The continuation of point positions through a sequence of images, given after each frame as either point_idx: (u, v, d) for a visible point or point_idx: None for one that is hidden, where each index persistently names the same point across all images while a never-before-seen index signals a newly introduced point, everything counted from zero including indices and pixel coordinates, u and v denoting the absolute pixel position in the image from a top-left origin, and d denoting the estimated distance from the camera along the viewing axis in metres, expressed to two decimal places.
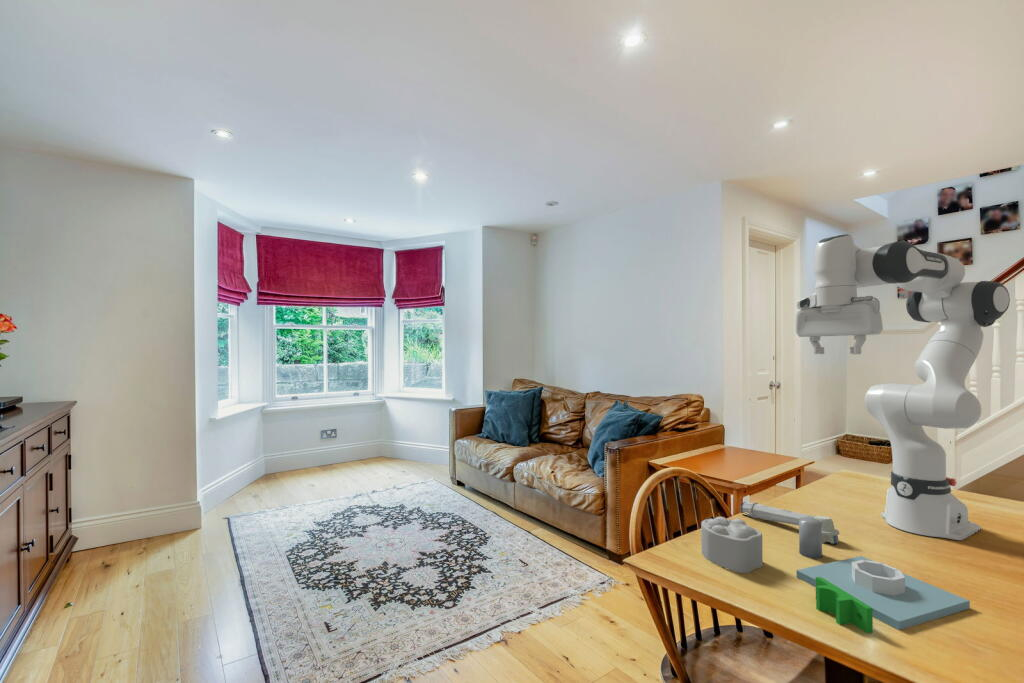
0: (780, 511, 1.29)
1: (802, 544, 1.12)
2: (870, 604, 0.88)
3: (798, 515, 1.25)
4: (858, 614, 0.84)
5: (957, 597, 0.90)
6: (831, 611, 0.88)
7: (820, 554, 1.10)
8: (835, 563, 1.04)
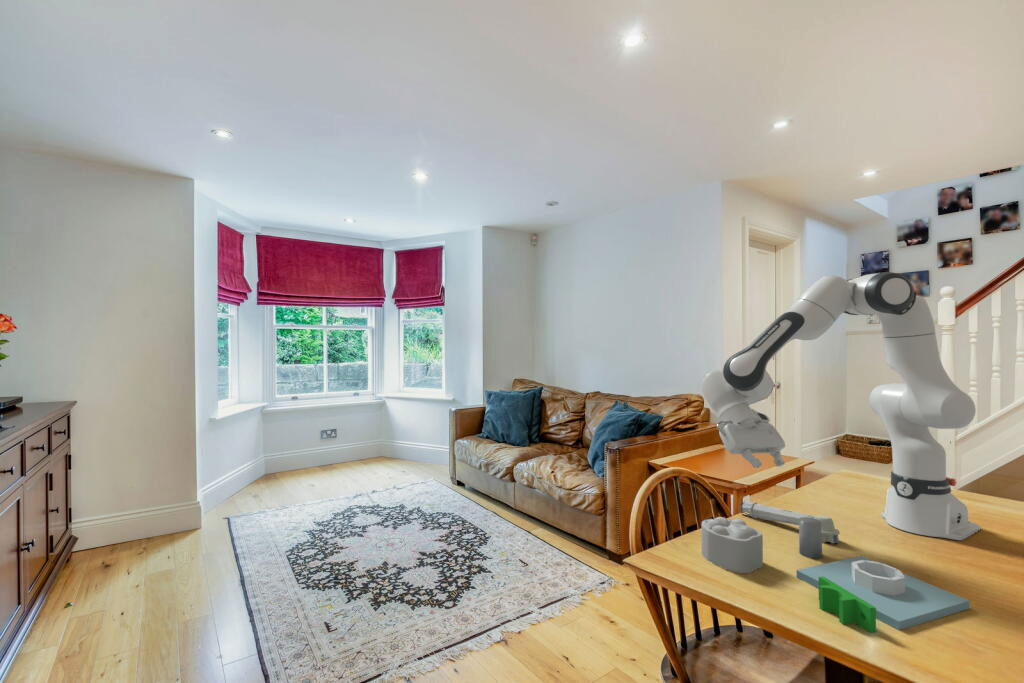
0: (780, 511, 1.29)
1: (802, 544, 1.12)
2: None
3: (798, 515, 1.25)
4: (861, 614, 0.84)
5: (957, 597, 0.90)
6: (834, 611, 0.88)
7: (820, 554, 1.10)
8: (835, 563, 1.04)
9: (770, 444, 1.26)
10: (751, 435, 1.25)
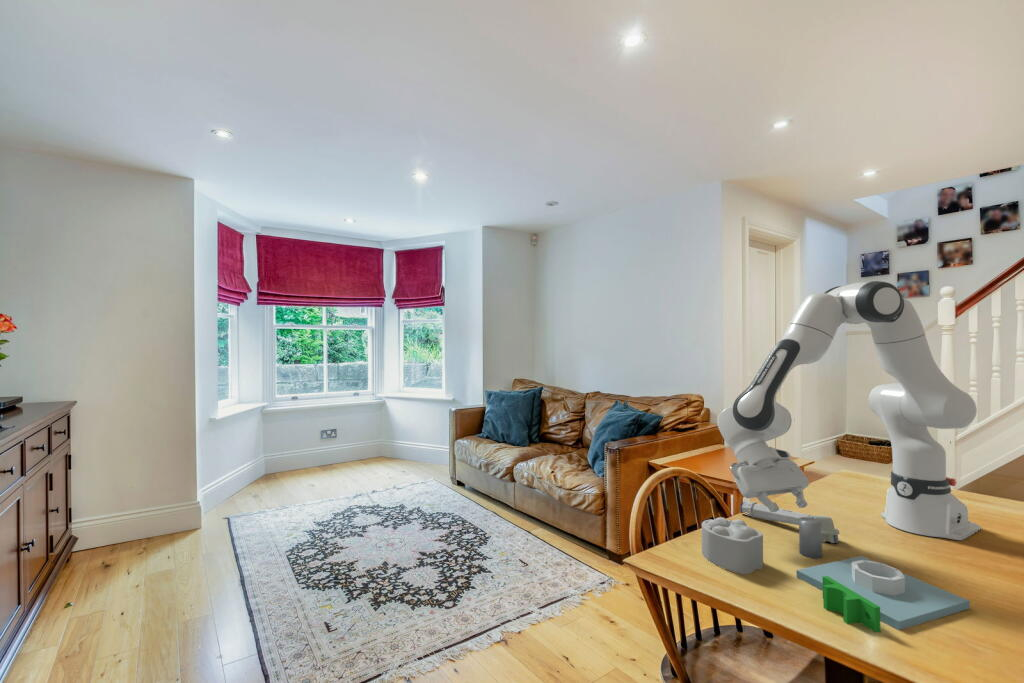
0: (780, 511, 1.29)
1: (802, 544, 1.12)
2: None
3: (798, 515, 1.25)
4: (866, 613, 0.84)
5: (957, 597, 0.90)
6: (838, 610, 0.88)
7: (820, 554, 1.10)
8: (835, 563, 1.04)
9: (790, 484, 1.21)
10: (768, 476, 1.21)
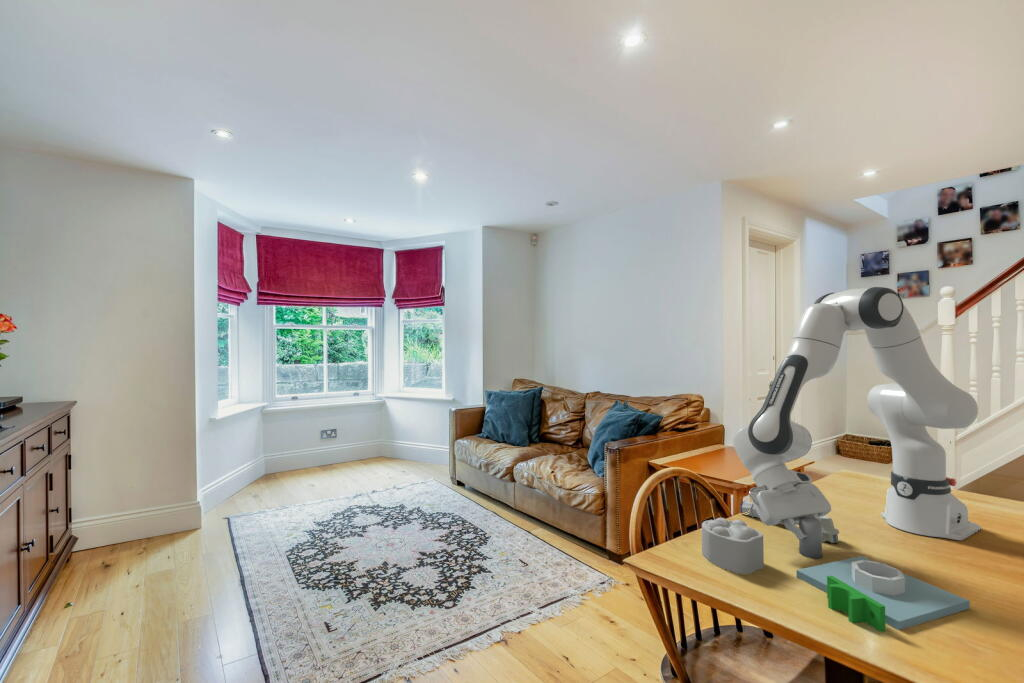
0: None
1: (802, 544, 1.12)
2: None
3: None
4: (871, 612, 0.84)
5: (957, 597, 0.90)
6: (843, 610, 0.88)
7: (820, 554, 1.10)
8: (835, 563, 1.04)
9: (813, 510, 1.15)
10: (789, 502, 1.15)
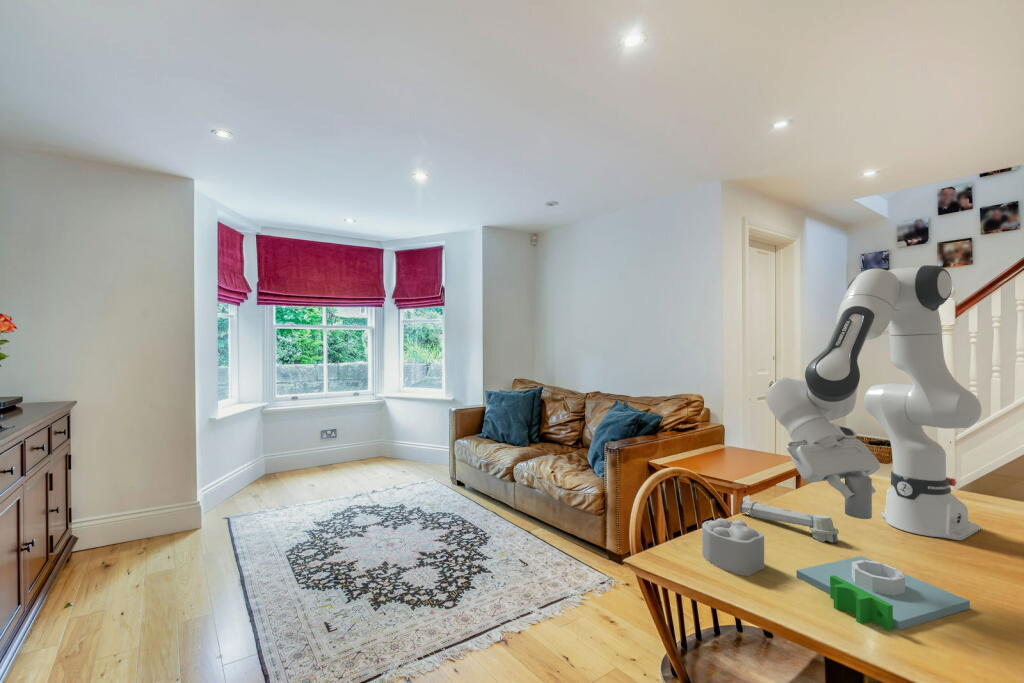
0: (779, 510, 1.30)
1: (848, 503, 0.99)
2: None
3: (797, 514, 1.26)
4: (877, 612, 0.84)
5: (957, 597, 0.90)
6: (849, 610, 0.88)
7: (870, 514, 0.97)
8: (835, 563, 1.04)
9: (860, 466, 1.02)
10: (833, 457, 1.02)
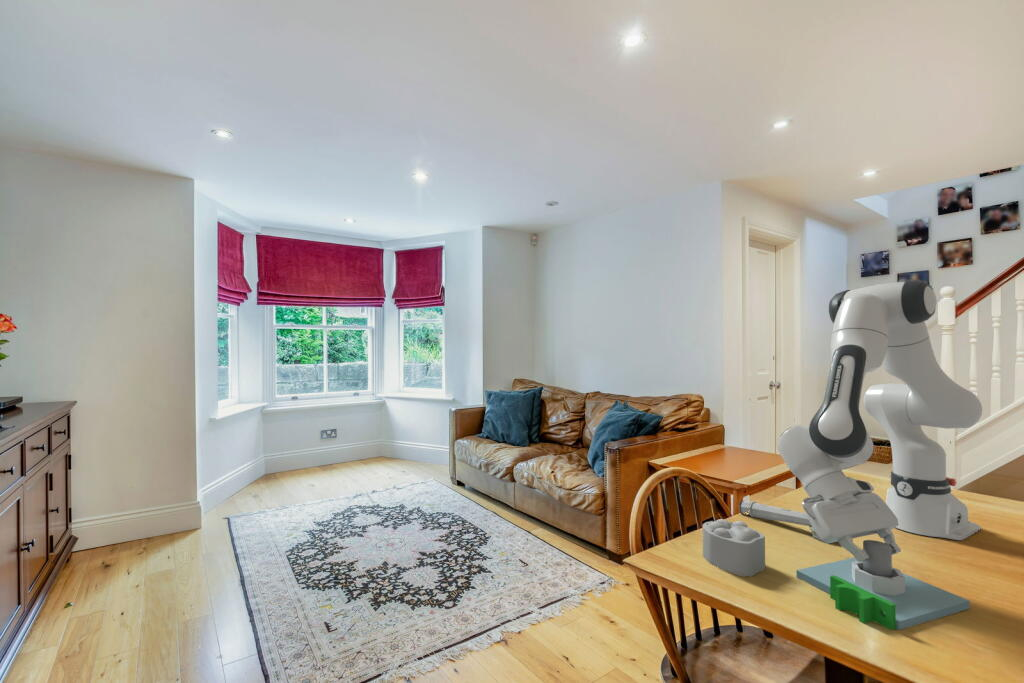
0: (779, 510, 1.30)
1: (867, 572, 0.95)
2: None
3: (797, 514, 1.26)
4: (880, 611, 0.85)
5: (957, 597, 0.90)
6: (850, 609, 0.88)
7: None
8: (835, 563, 1.04)
9: (878, 524, 0.98)
10: (850, 515, 0.98)
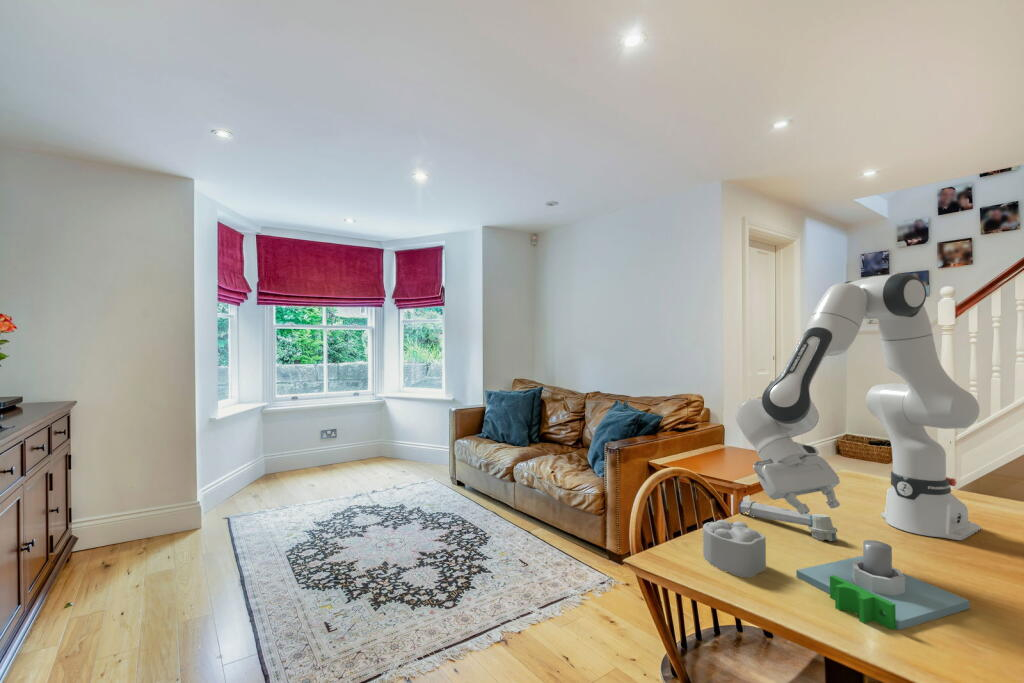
0: (778, 509, 1.30)
1: None
2: None
3: (796, 513, 1.26)
4: (880, 611, 0.85)
5: (957, 597, 0.90)
6: (850, 609, 0.88)
7: None
8: (835, 563, 1.04)
9: (820, 482, 1.11)
10: (795, 475, 1.11)
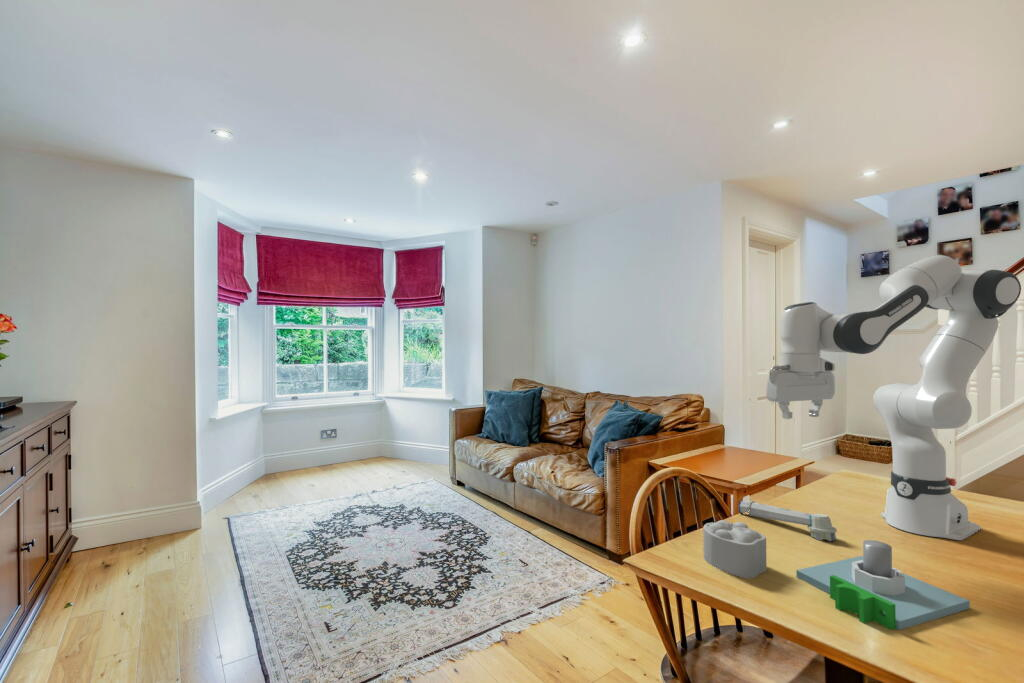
0: (778, 509, 1.30)
1: None
2: None
3: (796, 513, 1.26)
4: (880, 611, 0.85)
5: (957, 597, 0.90)
6: (850, 609, 0.88)
7: None
8: (835, 563, 1.04)
9: (816, 397, 1.22)
10: (801, 387, 1.20)
